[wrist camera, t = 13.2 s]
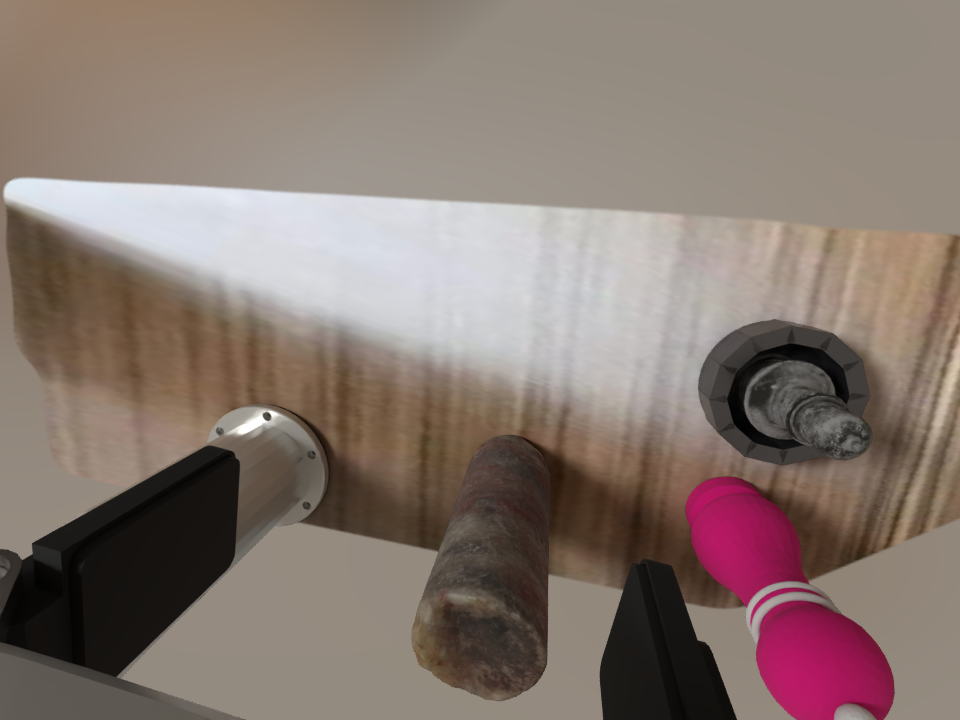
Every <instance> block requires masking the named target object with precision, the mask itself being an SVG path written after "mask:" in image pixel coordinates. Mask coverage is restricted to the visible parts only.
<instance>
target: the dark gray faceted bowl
mask: <svg viewBox="0 0 960 720" xmlns="http://www.w3.org/2000/svg"><path fill="white" fill-rule="evenodd" d="M765 354H780V355H783V356H787V357H789V358H791V359H792V360H795V361H804V362H808V363H811V364H813V365H815V366H817V367H819V368H820V369H822V370H823V371H824V372H825V373H826V374H827V375H828V376H829V377H830V379H831V381H832V383H833V385H834V387H835V394H836V397H838V398H840V399H841V400H842V401H843V402H844V403H845V404H846V405H847V407H848V409H849V411H850V412H852V413H853V414H855V415H857V416H859V417H860V418H861V416H862V414H863V411H864V409H865V406H866V404H867V402H868V399H869V397H870V394H869V389H868V385H867V380H866V375H865V370H864V366H863V361H862V359H861V358H860V357H859V356H858V355H856V354H855V353H854V352H853V351H852V350H851V349H850V348H849V347H848V346H847V345H845V344H844V343H843V342H842V341H841V340H840V339H839V338H838V337H837V336H836V335H834V334H833V333H830V332H827V331H824V330H821V329H817V328H814V327H811V326H806V325H801V324H796V323H792V322H787V321H780V320H775V319H773V320H770V321H761V322H757V323H752V324H749V325H747V326H744V327H741V328H739V329H737V330H735V331H734V332H732V333H730V334H729V335H727V336H726V337H725V338H723V339H722V340H721V341H720V342H719V343H718V344H717V345H716V346H715V347H714V348H713V349H712V351H711V352H710V353H709V355H708V357H707V358H706V360H705V362H704V364H703V367H702V369H701V373H700V377H699V385H698V390H699V398H700V402H701V405H702V408H703V410H704V412H705V415H706V419H707V420H708V422H709V423H710V424H711V425H712V426H713V428H714V429H715V430H716V431H717V432H718V433H719V434H720V435H721V436H722V437H723V438H724V439H725V440H726V441H728V442H729V443H730V444H731V445H732V446H733V447H734V448H735V449H737V450H738V451H739V452H740V453H741V454H742V455H743V456H744V457H748V458H752V459H757V460H761V461H765V462H770V463H774V464H778V465H787V464H792V463H796V462H801V461H805V460H810V459H814V458H819V457H822V456H824V454H822V453H821V452H820V451H818V450H817V449H816V448H815V447H813V446H808V445H804V444H801V443H799V442H798V441H796V440H795V439H790V440H787V439H776V438H773V437H769V436H767V435H765V434H763V433H761V432H760V431H758V430H757V429H756V428H755V427H754V426H753V425H752V424H751V423H750V421H749V419H748V417H747V415H746V413H745V412H743V411H742V410H741V409H740V407H739V406H738V405H737V404H736V402H735V400H734V398H733V393H732V385H733V380H734V378H735V375H736V373H737V372H738V370H739V369H740V368H741V367H742V366H744V365H745V364H746V363H747V362H748V361H749V360H750V359H753V358H755V357H757V356H760V355H765Z"/></svg>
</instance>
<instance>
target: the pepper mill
mask: <svg viewBox="0 0 960 720" xmlns="http://www.w3.org/2000/svg"><path fill="white" fill-rule="evenodd" d="M686 517H687V520H688V523H689V525H690V527H691V529H692V531H691V540H692V545H693V548H694V551H695V553H696V555H697V557H698V559H699V561H700V562H701V564H702V566H703V567H704V568H705V569H706V570H707V572H708V573H709V574H710V575H711V576H712V577H713V578H714V579H715V580H716V581H718V582H719V583H720V584H721V585H723V586H725V587H726V588H728V589H729V590H731V591H732V592H733V593H735V594H736V595H737V596H738V597H739V598H740V600H741V601H742V602H743V603H744V605H745V606H746V608H747V610H746V623H747V626H748V629H749V631H750V633H751V635H752V636H753V639H754V642H755V643H756V645H757V650H756V660H757V665H758V668H759V671H760V674H761V677H762V679H763V681H764V683H765V685H766V686H767V688H768V690H769V691H770V693H771V694H772V696H773V697H774V699H775V700H776V701H777V702H778V703H779V704H780V705H781V706H782V707H783V708H784V709H785V710H786V711H787V713H788V714H790V715H791V716H792V717H794V718H795V719H797V720H883V719H884V718H885V717H886V716H887V714H888V712H889V711H890V708H891V706H892V704H893V699H894V694H895V692H894V680H893V675H892V672H891V668H890V666H889V664H888V662H887V659H886V657H885V655H884V654H883V652H882V651H881V649H880V647H879V646H878V644H877V643H876V642H875V641H874V640H873V639H872V637H871V636H870V635H869V634H868V633H867V632H866V631H865V630H864V629H863V628H862V627H861V626H859V625H858V624H857V623H855V622H854V621H852V620H851V619H849V618H847V617H845V616H844V615H842V614H841V612H840V611H839V610H838V608H837V607H836V606H835V605H834V603H833V602H832V600H831V599H830V598H829V597H828V596H827V595H826V594H825V593H824V592H823V591H821V590H820V589H818V588H816V587H814V586H812V585H810V584H809V582H808V581H807V579H806V577H805V575H804V574H803V571H802V567H801V547H800V542H799V539H798V535H797V533H796V531H795V528H794V527H793V525H792V524H791V522H790V521H789V519H788V518H787V516H786V515H785V513H784V512H783V511H782V510H781V509H780V508H779V507H777V506H776V505H775V504H773V503H772V502H770V501H768V500H767V499H765V498H763V497H762V496H761V494H760V493H759V492H758V491H757V489H756V488H754V487H753V486H752V485H751V484H749V483H748V482H746V481H744V480H741V479H738V478H734V477H717V478H713V479H709V480H707V481H705V482H703V483H702V484H700V485H699V486H698V487H696V488H695V489H694V490H693V492H692V493H691V494H690V496H689V498H688V500H687V504H686Z"/></svg>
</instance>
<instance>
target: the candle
mask: <svg viewBox="0 0 960 720" xmlns="http://www.w3.org/2000/svg"><path fill="white" fill-rule="evenodd" d="M550 494H551V491H550V473H549V469H548V467H547V464H546V461H545V460H544V458H543V456H542V454H541V453H540V452H539V451H538V450H537V449H536V448H534V447H533V446H532V445H531V444H529V443H528V442H527V441H525V440H524V439H523V438H521V437H518V436H514V435H503V436H498V437H496V438H493V439H490V440H488V441H486V442H485V443H483V444H482V445H481V446H480V447H479V448H478V449H477V451H476V452H475V454H474V455H473V457H472V459H471V462H470V464H469V467H468V470H467V472H466V475H465V478H464V481H463V484H462V487H461V490H460V493H459V495H458V498H457V501H456V504H455V507H454V510H453V513H452V516H451V519H450V521H449V524H448V527H447V530H446V533H445V535H444V538H443V541H442V543H441V546H440V549H439V551H438V555H437V558H436V561H435V564H434V566H433V569H432V571H431V575H430V577H429V580H428V582H427V585H426V588H425V591H424V593H423V596H422V599H421V601H420V603H419V606H418V609H417V613H416V618H415V622H414V625H413V628H412V636H411V639H412V647H413V650H414V652H415V653H416V657H417V661H418V663H419V665H420V666H421V667H423V668H425V669H427V670H429V671H431V672H432V674H433V675H434V676H435V677H437V678H438V679H440V680H441V681H443V682H445V683H447V684H448V685H450V686H452V687H455V688H461V689H463V690H466V691H468V692H469V693H471V694H474V695H477V696H480V697H482V698H483V699H486V700H495V701H504V700H507V699H510V698H513V697H516V696H518V695H520V694H521V693H522V692H524V691H527V690H528V689H530V688H531V687H532V686H534V685H535V684H536V683H537V682H538V680H539V679H540V678H541V676H542V674H543V672H544V670H545V668H546V665H547V641H548V559H549V529H550Z"/></svg>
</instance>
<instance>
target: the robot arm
mask: <svg viewBox="0 0 960 720" xmlns="http://www.w3.org/2000/svg"><path fill="white" fill-rule="evenodd" d="M328 480H329V469H328V463H327V458H326V455H325V452H324V450H323V447H322V445H321V443H320V442H319V440H318V438H317V436H316V435H315V434H314V433H313V431H312V430H311V429H310V428H309V427H308V425H306V424H305V423H304V422H303V421H302V420H301V419H299V418H298V417H297V416H295V415H293V414H292V413H290V412H289V411H287V410H284V409H282V408H279V407H276V406H272V405H267V404H251V405H246V406H242V407H240V408H238V409H235V410H233V411H231V412H229V413H228V414H226V415H225V416H223V417H222V418H221V419H220V420H219V421H218V422H217V423H216V424H215V426H214V427H213V429H212V430H211V432H210V434H209V437H208V440H207V444H205V445H203V446H202V447H200V448H198V449H196V450H194V451H193V452H191V453H189V454H187V455H185V456H184V457H182V458H180V459H178V460H176V461H175V462H173V463H171V464H169V465H167V466H166V467H164V468H162V469H160V470H158V471H157V472H155V473H153V474H151V475H149V476H148V477H146V478H144V479H142V480H140V481H139V482H137V483H135V484H133V485H131V486H130V487H128V488H126V489H124V490H122V491H121V492H119V493H117V494H115V495H113V496H112V497H110V498H108V499H106V500H104V501H103V502H101V503H99V504H98V505H95V506H93V507H92V508H90V509H88V510H86V511H84V512H83V513H81V514H79V515H78V516H76V517H74V518H73V519H71V520H70V521H68V522H67V523H65V524H64V525H63V526H61V527H60V528H58V529H57V530H55V531H53V532H51V533H50V534H48V535H46V536H44V537H43V538H41V539H39V540H37V541H35V542H34V543H32V550H33V554H32V555H30V556H29V557H27V558H25V559H24V560H22V559H21V558H20V556H19V555H18V554H17V553H15V552H12V551H10V550H6V549H0V720H245V719H242V718H239V717H236V716H233V715H230V714H227V713H224V712H221V711H218V710H214V709H212V708H209V707H206V706H202V705H200V704H196V703H193V702H190V701H187V700H184V699H181V698H178V697H175V696H172V695H168V694H166V693H163V692H159V691H156V690H153V689H150V688H147V687H144V686H141V685H138V684H135V683H132V682H129V681H126V680H123V679H121V678H122V677H123V676H124V675H125V674H126V673H127V672H128V671H129V670H130V668H131V667H132V666H133V665H134V664H135V663H136V662H137V661H138V660H139V659H140V658H141V657H142V656H143V655H144V654H145V653H146V652H147V651H148V650H149V649H150V648H151V647H152V645H154V644H155V643H156V642H157V641H158V639H160V638H161V637H162V636H163V634H164V633H166V632H167V631H168V630H169V629H170V628H171V627H172V626H173V625H174V624H175V623H176V622H177V621H178V620H179V619H180V618H181V617H182V616H183V615H184V614H185V613H186V612H187V611H188V610H189V609H190V608H191V607H192V606H193V605H194V604H195V603H196V602H197V601H198V600H199V599H201V597H202V596H204V595H205V594H206V593H207V592H208V591H209V590H210V589H211V588H212V587H213V586H214V585H215V584H216V583H217V582H218V581H219V580H220V579H221V578H222V577H223V576H224V575H225V574H226V573H227V572H228V571H229V570H230V569H231V568H232V567H233V566H234V565H235V564H237V563H238V562H239V561H240V560H241V559H242V558H243V557H244V556H245V555H246V554H247V553H248V552H249V551H250V550H251V549H252V548H253V547H254V546H255V545H256V544H257V543H258V542H259V541H260V540H261V539H262V538H263V537H264V536H265V535H266V534H267V533H268V532H269V531H270V530H271V529H272V528H274V526H286V525H291V524H294V523H296V522H299V521H301V520H302V519H304V518H306V517H307V516H308V515H309V514H310V513H311V512H312V511H313V510H314V509H315V508H316V507H317V506H318V505H319V503H320V502H321V501H322V499H323V497H324V495H325V492H326V489H327V485H328ZM600 686H601V699H602V710H603V720H737V718H736V716H735V713H734V710H733V707H732V705H731V702H730V699H729V697H728V694H727V691H726V688H725V686H724V683H723V680H722V678H721V675H720V672H719V670H718V667H717V664H716V662H715V659H714V656H713V653H712V651H711V649H710V647H709V646H708V645H707V644H706V643H705V642H702V641H698V640H697V637H696V634H695V632H694V629H693V626H692V623H691V620H690V617H689V614H688V612H687V608H686V605H685V603H684V600H683V597H682V594H681V591H680V588H679V585H678V582H677V579H676V576H675V573H674V571H673V568H672V566H670V565H667V564H663V563H660V562H656V561H652V560H648V559H643V560H642V561H641V563H640V564H636V563H633V564H632V565H631V568H630V571H629V574H628V577H627V580H626V584H625V587H624V590H623V593H622V597H621V600H620V603H619V606H618V609H617V612H616V616H615V619H614V622H613V625H612V628H611V632H610V635H609V638H608V641H607V644H606V648H605V651H604V654H603V657H602V661H601V667H600Z"/></svg>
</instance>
